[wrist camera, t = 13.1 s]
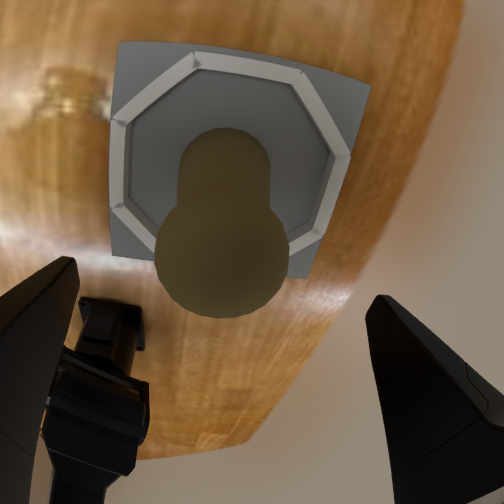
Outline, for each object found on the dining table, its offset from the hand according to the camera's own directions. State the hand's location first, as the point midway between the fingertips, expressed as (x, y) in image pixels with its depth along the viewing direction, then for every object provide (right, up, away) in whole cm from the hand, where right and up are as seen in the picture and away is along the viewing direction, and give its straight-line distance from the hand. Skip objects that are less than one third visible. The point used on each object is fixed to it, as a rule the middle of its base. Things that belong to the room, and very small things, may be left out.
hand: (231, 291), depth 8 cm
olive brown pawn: (-1, +6, +11) cm, 13 cm away
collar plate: (-1, +7, +11) cm, 13 cm away
